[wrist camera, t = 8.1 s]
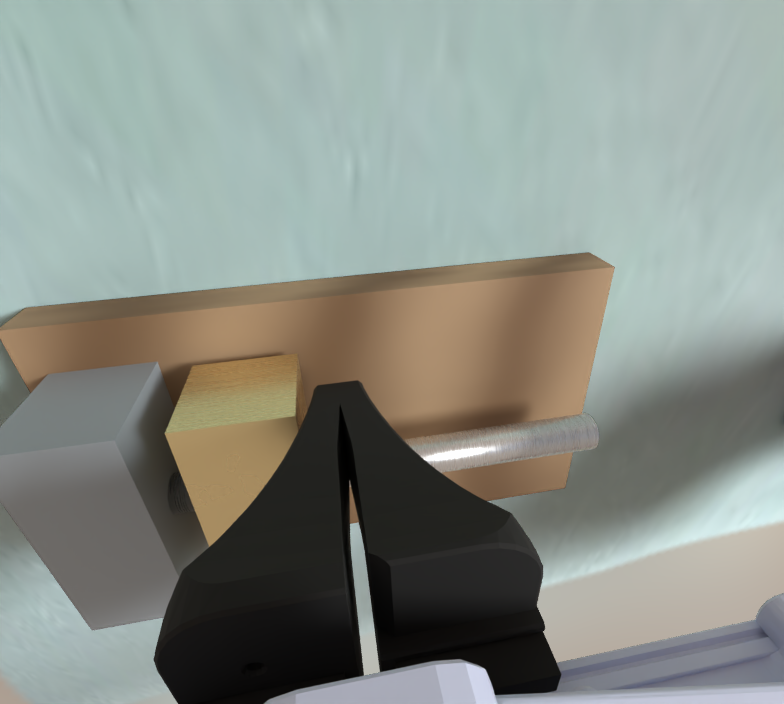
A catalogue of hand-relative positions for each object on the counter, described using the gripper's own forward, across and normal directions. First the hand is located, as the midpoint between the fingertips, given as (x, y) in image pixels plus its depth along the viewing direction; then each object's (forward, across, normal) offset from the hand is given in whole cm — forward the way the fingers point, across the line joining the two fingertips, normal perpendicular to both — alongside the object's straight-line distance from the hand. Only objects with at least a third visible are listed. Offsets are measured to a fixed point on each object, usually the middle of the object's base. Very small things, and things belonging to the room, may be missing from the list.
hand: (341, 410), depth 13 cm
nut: (+1, +3, +2) cm, 4 cm away
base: (+3, 0, +2) cm, 4 cm away
